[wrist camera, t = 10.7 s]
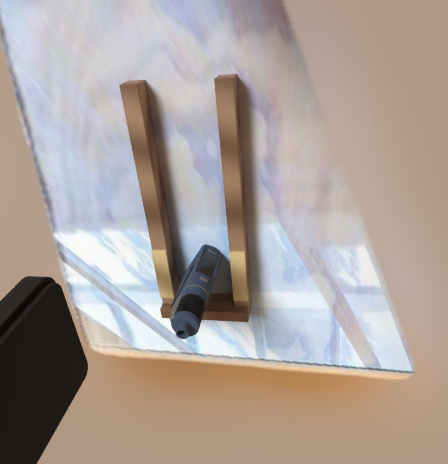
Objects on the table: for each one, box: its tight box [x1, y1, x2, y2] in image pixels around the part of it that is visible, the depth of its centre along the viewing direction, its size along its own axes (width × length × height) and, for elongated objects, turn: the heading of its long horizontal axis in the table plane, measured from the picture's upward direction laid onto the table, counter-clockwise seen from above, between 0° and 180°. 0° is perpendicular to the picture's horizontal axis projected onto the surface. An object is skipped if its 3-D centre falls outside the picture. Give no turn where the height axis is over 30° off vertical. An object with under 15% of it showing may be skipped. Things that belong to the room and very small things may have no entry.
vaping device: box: [170, 244, 222, 339], centre depth 38 cm, size 3×5×12 cm, turn 150°
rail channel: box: [120, 74, 251, 322], centre depth 39 cm, size 24×10×3 cm, turn 5°
